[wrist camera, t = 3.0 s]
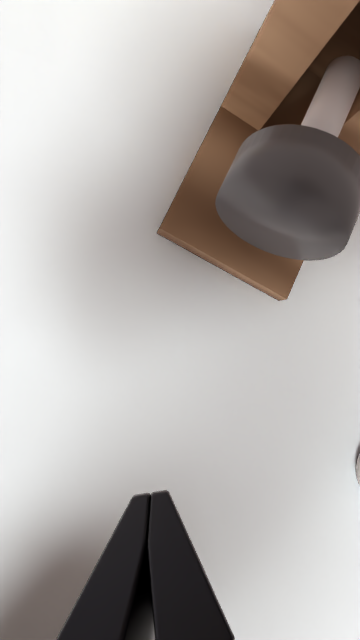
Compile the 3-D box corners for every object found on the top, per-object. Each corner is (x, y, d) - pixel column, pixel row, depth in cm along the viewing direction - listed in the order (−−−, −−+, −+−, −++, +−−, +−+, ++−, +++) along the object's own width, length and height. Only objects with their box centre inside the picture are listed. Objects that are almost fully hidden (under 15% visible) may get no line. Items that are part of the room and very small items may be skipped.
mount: (278, 300, 22) (431, 270, 12) (156, 233, 20) (212, 130, 10) (363, 104, 24) (553, -64, 14) (259, 29, 23) (389, -223, 12)
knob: (294, 269, 18) (383, 239, 13) (199, 214, 17) (249, 153, 12) (349, 142, 20) (453, 61, 14) (263, 84, 19) (338, -32, 13)
